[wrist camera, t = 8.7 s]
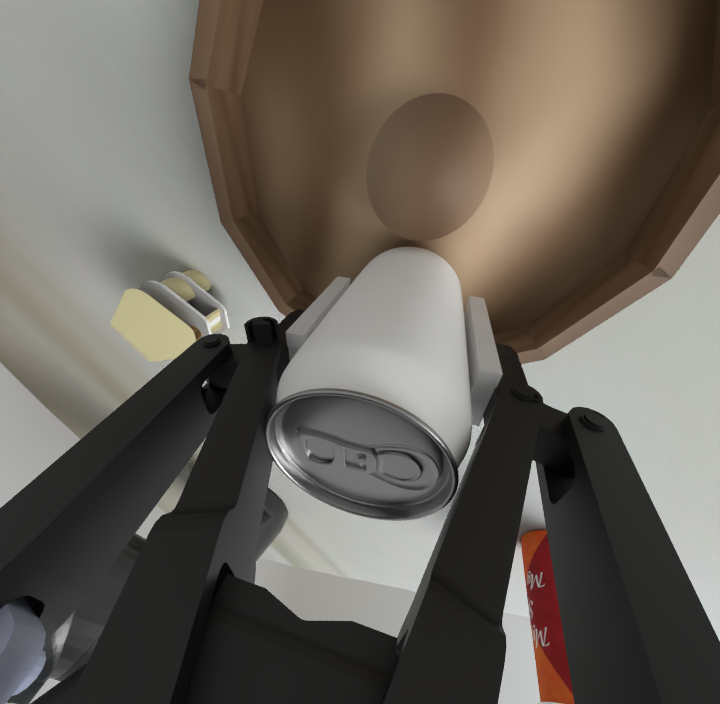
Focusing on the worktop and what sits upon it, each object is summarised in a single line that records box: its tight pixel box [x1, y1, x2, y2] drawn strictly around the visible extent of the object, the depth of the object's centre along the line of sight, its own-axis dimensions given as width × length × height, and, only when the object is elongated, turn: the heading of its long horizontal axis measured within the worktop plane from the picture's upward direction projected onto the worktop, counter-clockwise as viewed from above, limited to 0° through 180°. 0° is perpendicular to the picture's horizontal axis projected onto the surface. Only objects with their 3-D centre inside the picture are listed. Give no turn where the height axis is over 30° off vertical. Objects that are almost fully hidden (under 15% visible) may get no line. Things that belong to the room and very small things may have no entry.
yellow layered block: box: [110, 269, 230, 362], centre depth 23 cm, size 10×9×6 cm
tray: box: [189, 0, 720, 364], centre depth 14 cm, size 22×22×4 cm
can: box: [264, 247, 472, 521], centre depth 13 cm, size 6×6×12 cm
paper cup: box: [521, 530, 575, 704], centre depth 26 cm, size 8×8×14 cm
